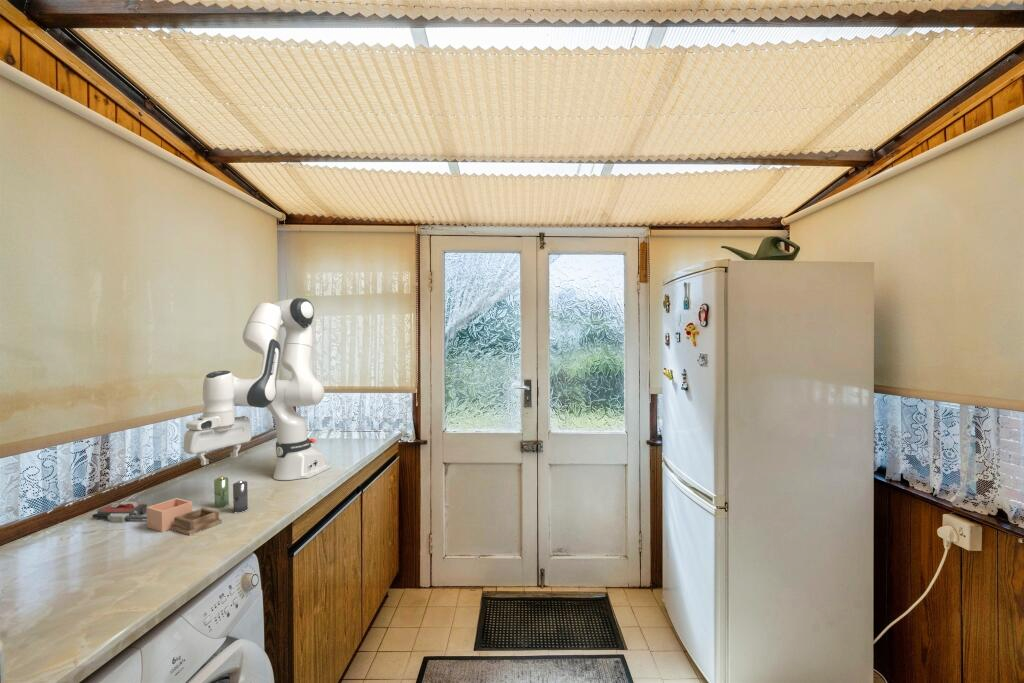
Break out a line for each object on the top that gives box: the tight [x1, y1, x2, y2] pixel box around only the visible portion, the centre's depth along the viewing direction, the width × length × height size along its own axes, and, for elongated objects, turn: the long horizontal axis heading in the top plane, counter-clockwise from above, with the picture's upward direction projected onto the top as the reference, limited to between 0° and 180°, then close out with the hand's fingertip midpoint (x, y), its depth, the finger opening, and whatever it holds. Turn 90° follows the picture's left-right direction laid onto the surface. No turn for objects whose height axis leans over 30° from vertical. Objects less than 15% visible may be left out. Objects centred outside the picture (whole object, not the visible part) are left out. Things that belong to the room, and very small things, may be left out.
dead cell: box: [232, 480, 249, 513], centre depth 144 cm, size 4×4×10 cm
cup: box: [146, 497, 193, 533], centre depth 134 cm, size 8×8×6 cm
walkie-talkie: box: [92, 500, 148, 523], centre depth 141 cm, size 9×4×20 cm
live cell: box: [213, 476, 230, 508], centre depth 148 cm, size 4×4×10 cm
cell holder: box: [171, 507, 223, 536], centre depth 133 cm, size 9×9×4 cm
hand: (219, 461), depth 148 cm, fingers open, 8 cm apart
